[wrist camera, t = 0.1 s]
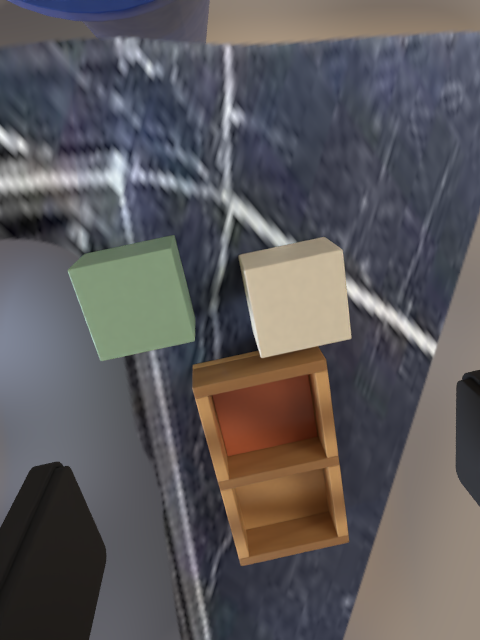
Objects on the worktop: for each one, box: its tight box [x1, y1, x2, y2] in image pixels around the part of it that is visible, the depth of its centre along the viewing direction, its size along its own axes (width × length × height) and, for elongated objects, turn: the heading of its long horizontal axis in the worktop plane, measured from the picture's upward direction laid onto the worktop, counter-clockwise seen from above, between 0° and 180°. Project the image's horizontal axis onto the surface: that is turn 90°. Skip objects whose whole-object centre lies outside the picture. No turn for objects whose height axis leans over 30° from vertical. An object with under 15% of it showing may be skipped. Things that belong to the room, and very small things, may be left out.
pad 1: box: [68, 235, 195, 361], centre depth 25 cm, size 6×6×4 cm
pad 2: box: [238, 237, 351, 358], centre depth 26 cm, size 6×6×4 cm
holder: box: [192, 346, 349, 566], centre depth 31 cm, size 16×8×3 cm, turn 11°
